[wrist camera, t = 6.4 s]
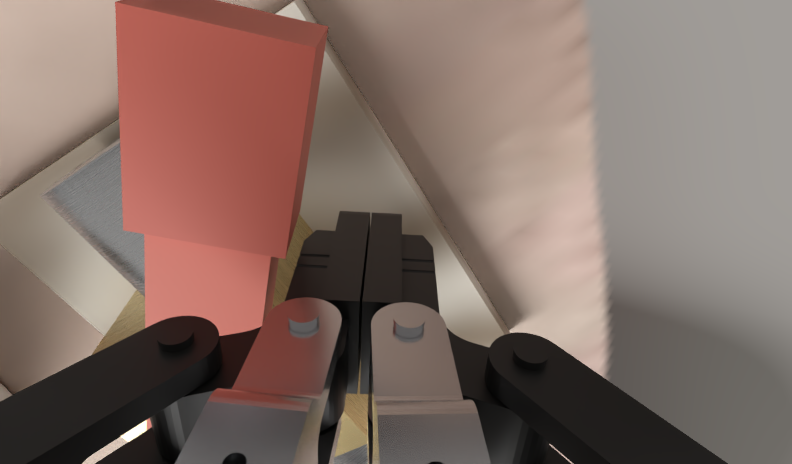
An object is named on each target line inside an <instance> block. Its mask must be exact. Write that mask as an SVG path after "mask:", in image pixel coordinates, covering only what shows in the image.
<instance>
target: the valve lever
mask: <svg viewBox="0 0 792 464" xmlns="http://www.w3.org/2000/svg"><path fill="white" fill-rule="evenodd" d="M115 7H116V36H117V65H118V94H119V124H120V153H121V182H122V211H123V230H124V231H130V232H135V233H141V234H144V254H145V328H147V327H149V326H151V325H153V324H155V323H157V322H159V321H161V320H165V319H168V318H172V317H177V316H198V317H202V318H205V319H207V320H209V321H211V322H212V323H213V324H215V326H216V327H217V329H218V331H219V336H223V335H229V334H235V333H240V332H245V331H250V330H253V329H256V328H259V327H261V326H262V325H263V323H264V321H265V318H266V316H267V315H268V313H269V312H270V311H271V310H272V305H273V298H274V291H275V283H276V276H277V269H278V262H279V258H282V259H286V255H287V252H288V249H289V246H290V242H291V239H292V236H293V232H294V229H295V226H296V223H297V219H298V216H299V213H300V208H301V202H302V195H303V189H304V182H305V176H306V169H307V163H308V156H309V149H310V143H311V136H312V130H313V123H314V117H315V110H316V104H317V97H318V91H319V84H320V78H321V71H322V64H323V58H324V51H325V45H326V38H327V32H328V26H324V25H320V24H316V23H311V22H307V21H303V20H298V19H294V18H290V17H286V16H281V15H277V14H273V13H268V12H264V11H260V10H255V9H251V8H247V7H243V6H238V5H234V4H230V3H225V2H221V1H217V0H121V1H117V2H115ZM146 425H147V430H148V429H150V428H151V427H152V425H151V421H150V418H149V419H147V420H146Z"/></svg>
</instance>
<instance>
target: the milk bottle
mask: <svg viewBox="0 0 792 464" xmlns="http://www.w3.org/2000/svg"><path fill="white" fill-rule="evenodd" d="M10 396H12V394H11V393H10V392H9V391H8V390H7V389H6V388H5V386H3V385H2V384H1V383H0V401H2V400H4V399H6V398H8V397H10Z"/></svg>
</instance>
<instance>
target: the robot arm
mask: <svg viewBox="0 0 792 464" xmlns="http://www.w3.org/2000/svg"><path fill="white" fill-rule="evenodd" d="M360 361H361V369H360ZM359 371H360V394H368V415H367V454H368V464H571V463H570V462H569V461H567V460H566V459H565V458H564V457H563V456H561V455H560V454H559V453H558V452H557V451H556V450H554V449H553V448H552V447H551V446H550V445H549V444H551V445H553V446H554V447H555V448H556V449H557V450H558V451H560V452H561V453H562V454H563V455H564V456H565V457H567V458H568V459H569V460H570V461H571V462H572V463H574V464H728V463H726V462H725V461H723V460H722V459H720V458H719V457H718V456H716V455H715V454H713V453H712V452H710V451H709V450H707V449H706V448H704V447H703V446H702V445H700V444H698V443H697V442H696V441H694V440H693V439H691V438H690V437H689V436H687V435H686V434H684V433H683V432H681V431H680V430H678V429H677V428H675V427H674V426H673V425H671V424H670V423H668V422H667V421H665V420H664V419H663V418H661V417H659V416H658V415H657V414H655V413H654V412H652V411H651V410H649V409H648V408H647V407H645V406H644V405H642V404H641V403H639V402H638V401H636V400H635V399H633V398H632V397H631V396H629V395H627V394H626V393H625V392H623V391H622V390H620V389H619V388H618V387H616V386H615V385H613V384H612V383H610V382H609V381H607V380H606V379H605V378H603V377H602V376H600V375H599V374H597V373H596V372H594V371H593V370H592V369H590V368H589V367H587V366H586V365H584V364H583V363H581V362H580V361H579V360H577V359H576V358H574V357H573V356H571V355H570V354H568V353H567V352H566V351H564V350H563V349H561V348H560V347H558V346H557V345H555V344H554V343H552V342H551V341H549V340H547V339H545V338H543V337H540V336H537V335H533V334H528V333H509V334H505V335H503V336H500V337H499V338H497V339H496V340H495V341H494V342H493V343H492V344H491V346H490V347H486V346H483V345H479V344H475V343H472V342H469V341H466V340H464V339H462V338H460V337H458V336H457V335H455V334H453V333H452V332H451V331H450V330H449V329H448V328H447V327H446V324H445V321H444V319H443V318H442V316H441V315H440V313H439V303H438V293H437V283H436V274H435V263H434V253H433V247H432V245H431V244H430V243H429V242H428V241H427V239H426V238H425V237H424V236H423V235H408V234H402V214H394V213H374V212H372V216H371V225H370V212H353V211H340V212H339V216H338V221H337V225H336V229H335V231H328V230H316V231H315V232H313V233H312V234H311V235H310V236H309V237H308V238H306V239H305V240H304V242H303V245H302V248H301V252H300V256H299V258H298V261H297V265H296V267H295V270H294V274H293V277H292V280H291V283H290V286H289V289H288V292H287V295H286V299H285V302H282V303H280V304H279V305H277V306H275V307H274V308H273V309H272V310H271V311H270V312H269V313H268V315H267V316H266V318H265V321H264V323H263V325H262V326H261V327H259V328H256V329H253V330H250V331H245V332H240V333H235V334H229V335H223V336H219V331H218V329H217V327H216V326H215V324H213V323H212V322H211V321H209V320H207V319H205V318H202V317H198V316H177V317H172V318H168V319H165V320H161V321H159V322H157V323H155V324H153V325H151V326H149V327H147V328H145V329H143V330H141V331H139V332H137V333H135V334H133V335H131V336H129V337H127V338H125V339H123V340H121V341H119V342H117V343H115V344H113V345H111V346H109V347H107V348H105V349H103V350H101V351H99V352H97V353H95V354H93V355H91V356H89V357H87V358H85V359H83V360H81V361H79V362H77V363H75V364H73V365H71V366H69V367H67V368H65V369H63V370H61V371H59V372H57V373H55V374H53V375H52V376H50V377H48V378H46V379H44V380H42V381H40V382H38V383H36V384H34V385H32V386H30V387H28V388H26V389H24V390H22V391H20V392H18V393H16V394H14V395H12V396H10V397H8V398H6V399H4V400H2V401H0V464H82V463H83V462H84V461H85V460H86V459H87V458H88V457H89V456H91V455H92V454H93V453H95V452H97V451H98V450H100V449H101V448H103V447H105V446H106V445H108V444H109V443H111V442H112V441H114V440H116V439H117V438H119V437H120V436H122V435H124V434H125V433H127V432H128V431H130V430H131V429H133V428H135V427H136V426H138V425H139V424H141V423H143V422H144V421H146V420H147V419H149V418H150V421H151V425H152V427H151V428H150V429H148V430H146V431H145V432H143V433H142V434H140V435H139V436H137V437H136V438H134V439H132V440H131V441H129V442H128V443H126V444H125V445H123V446H122V447H120V448H119V449H117V450H115V451H114V452H112V453H111V454H109V455H108V456H106V457H105V458H103V459H102V460H100V461H98V462H97V463H95V464H333V462H334V457H335V452H336V448H337V443H338V439H339V434H340V430H341V416H342V414H343V412H344V407H345V399H346V393H347V394H357V392H358V381H359Z"/></svg>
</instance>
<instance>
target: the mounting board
mask: <svg viewBox="0 0 792 464" xmlns="http://www.w3.org/2000/svg"><path fill="white" fill-rule="evenodd" d="M275 14H277V15H281V16H286V17H290V18H294V19H298V20H303V21H307V22H311V23H316V24H318V23H317V22H316V20H315V19H314V17H313V15H312V14H311V12H310V11H309V9H308V7H307V6H306V4H305V3H304V1H303V0H294V1H293V2H291V3H290V4H288V5H287V6H285V7H284V8H282V9H281V10H279V11H278V12H276V13H275ZM119 137H120V124H119V119H118V120H116V121H115V122H113V123H112V124H110V125H109V126H107V127H106V128H104V129H103V130H101V131H100V132H98V133H97V134H95V135H94V136H92V137H91V138H89V139H88V140H86V141H85V142H84V143H82V144H81V145H79V146H78V147H76V148H75V149H73V150H72V151H70V152H69V153H67V154H66V155H64V156H63V157H61V158H60V159H58V160H57V161H55V162H54V163H52V164H51V165H49V166H48V167H46V168H45V169H43V170H42V171H40V172H39V173H38V174H36V175H35V176H33V177H32V178H30V179H29V180H27V181H26V182H24V183H23V184H21V185H20V186H18V187H17V188H15V189H14V190H12V191H11V192H9V193H8V194H6V195H5V196H3V197H2V198H0V245H1V246H2V247H3V248H5V249H6V250H7V251H8V252H9V253H10V254H11V255H13V256H14V257H15V258H16V259H17V260H18V261H19V262H20V263H22V264H23V265H24V266H25V267H26V268H27V269H28V270H30V271H31V272H32V273H33V274H34V275H35V276H36V277H37V278H39V279H40V280H41V281H42V282H43V283H44V284H45V285H47V286H48V287H49V288H50V289H51V290H52V291H53V292H55V293H56V294H57V295H58V296H59V297H60V298H61V299H62V300H64V301H65V302H66V303H67V304H68V305H69V306H70V307H72V308H73V309H74V310H75V311H76V312H77V313H78V314H80V315H81V316H82V317H83V318H84V319H85V320H86V321H87V322H89V323H90V324H91V325H92V326H93V327H94V328H95V329H97V330H98V331H99V332H100V333H101V334H102V335H103V336H105V335H106V333H107V332H108V330H109V329H110V327H111V326H112V324H113V323H114V322H115V320H116V319H117V317H118V316H119V314H120V313H121V311H122V310H123V308H124V307H125V306H126V304H127V303H128V301H129V300H130V298H131V297H132V295H133V294H134V292H135V291H136V290H137V289H136V288H134V287H133V286H132V285H131V284H130V283H129V282H128V281H127V280H126V279H125V278H124V277H123V276H122V275H121V274H120V273H119V272H118V271H117V270H116V269H115V268H114V267H113V266H112V265H111V264H110V263H109V262H108V261H107V260H106V259H104V258H103V257H102V256H101V255H100V254H99V253H98V252H97V251H96V250H95V249H94V248H93V247H92V246H91V245H90V244H89V243H88V242H87V241H86V240H85V239H84V238H83V237H82V236H81V235H80V234H79V233H78V232H77V231H76V230H74V229H73V228H72V227H71V226H70V225H69V224H68V223H67V222H66V221H65V220H64V219H63V218H62V217H61V216H60V215H59V214H58V213H57V212H56V211H55V210H54V209H53V208H52V207H51V206H50V205H49V204H48V203H47V202H46V201H44V200H43V199H42V198H41V197H40V195H41V194H42V193H43V192H44V191H45V190H47V189H48V188H49V187H50V186H52V185H53V184H54V183H56V182H57V181H58V180H60V179H61V178H62V177H64V176H65V175H66V174H68V173H69V172H70V171H72V170H73V169H74V168H76V167H77V166H79V165H80V164H81V163H83V162H84V161H86V160H87V159H88V158H90V157H91V156H93V155H94V154H95V153H97V152H98V151H100V150H101V149H103V148H104V147H106V146H107V145H108V144H110V143H111V142H113V141H114V140H116V139H117V138H119ZM340 211H353V212H370V225H371V216H372V212H374V213H394V214H402V234H408V235H423V236H424V237H425V238H426V239H427V241H428V242H429V243H430V244H431V245H432V247H433V253H434V263H435V274H436V283H437V293H438V303H439V313H440V315H441V316H442V318H443V319H444V321H445V324H446V327H447V328H448V329H449V330H450V331H451V332H452V333H453V334H455V335H457V336H458V337H460V338H462V339H464V340H466V341H469V342H472V343H475V344H479V345H483V346H486V347H490V346H491V344H492V343H493V342H494V341H495V340H496V339H497V338H499V337H500V336H503V335H505V334H509V333H510V332H509V330H508V328H507V327H506V325H505V323H504V322H503V320H502V319H501V317H500V315H499V314H498V312H497V311H496V309H495V307H494V306H493V304H492V303H491V301H490V299H489V298H488V296H487V294H486V293H485V291H484V290H483V288H482V286H481V285H480V283H479V282H478V280H477V278H476V277H475V275H474V274H473V272H472V270H471V269H470V267H469V266H468V264H467V262H466V261H465V259H464V258H463V256H462V254H461V253H460V251H459V250H458V248H457V246H456V245H455V243H454V242H453V240H452V238H451V237H450V235H449V234H448V232H447V230H446V229H445V227H444V226H443V224H442V222H441V221H440V219H439V218H438V216H437V214H436V213H435V211H434V209H433V208H432V206H431V205H430V203H429V201H428V200H427V198H426V197H425V195H424V193H423V192H422V190H421V189H420V187H419V185H418V184H417V182H416V181H415V179H414V177H413V176H412V174H411V173H410V171H409V169H408V168H407V166H406V165H405V163H404V161H403V160H402V158H401V157H400V155H399V153H398V152H397V150H396V149H395V147H394V145H393V144H392V142H391V141H390V139H389V137H388V136H387V134H386V133H385V131H384V129H383V128H382V126H381V124H380V123H379V121H378V120H377V118H376V116H375V115H374V113H373V112H372V110H371V108H370V107H369V105H368V104H367V102H366V100H365V99H364V97H363V96H362V94H361V92H360V91H359V89H358V88H357V86H356V84H355V83H354V81H353V80H352V78H351V76H350V75H349V73H348V72H347V70H346V68H345V67H344V65H343V64H342V62H341V60H340V59H339V57H338V56H337V54H336V52H335V51H334V49H333V48H332V46H331V44H330V43H329V41H328V39H327V38H326V45H325V51H324V58H323V64H322V71H321V78H320V84H319V91H318V97H317V104H316V110H315V117H314V123H313V130H312V136H311V143H310V149H309V156H308V163H307V169H306V176H305V182H304V189H303V195H302V202H301V208H300V213H299V214H300V215H301V217H302V218H303V219H304V220H305V222H306V223H307V224H308V226H309V227H310V228H311V229H312V231H313V232H315V231H316V230H328V231H335V229H336V225H337V221H338V216H339V212H340Z"/></svg>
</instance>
